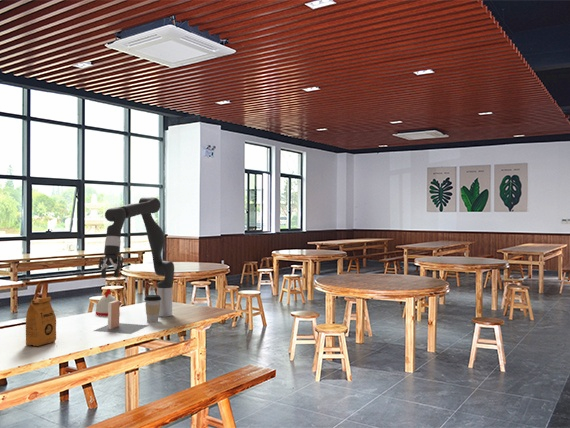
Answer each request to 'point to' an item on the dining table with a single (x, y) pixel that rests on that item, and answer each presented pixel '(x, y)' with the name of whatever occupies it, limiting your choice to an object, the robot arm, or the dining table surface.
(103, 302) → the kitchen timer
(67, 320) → the dining table surface
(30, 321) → the coffee package
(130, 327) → the mat
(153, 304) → the coffee cup
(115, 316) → the tile
